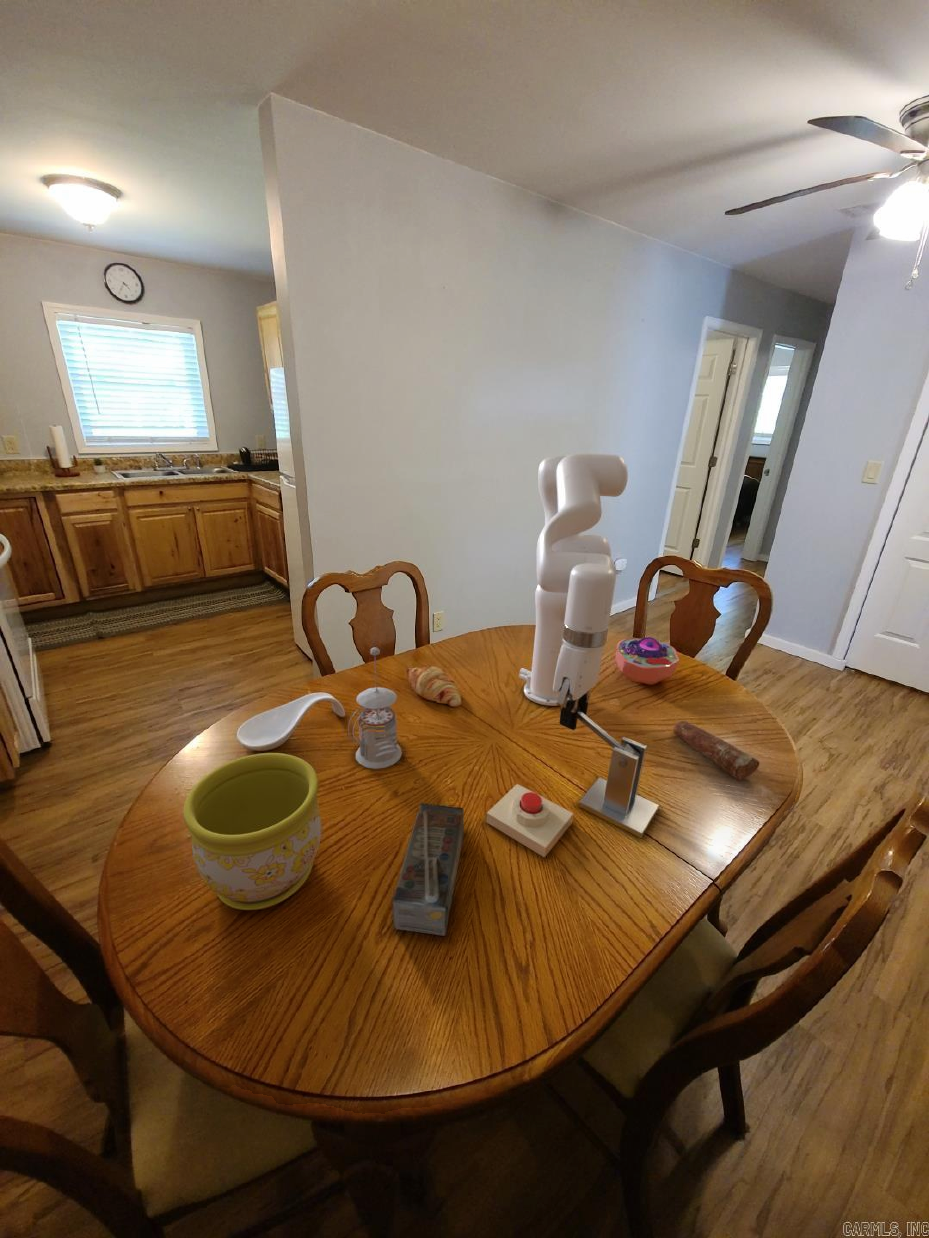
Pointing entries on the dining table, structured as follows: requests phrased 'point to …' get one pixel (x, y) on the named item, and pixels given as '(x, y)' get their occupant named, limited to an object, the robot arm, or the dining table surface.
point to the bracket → (622, 792)
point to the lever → (603, 732)
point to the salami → (717, 750)
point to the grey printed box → (429, 870)
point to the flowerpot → (255, 828)
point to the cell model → (646, 659)
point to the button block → (530, 821)
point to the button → (531, 803)
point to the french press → (377, 713)
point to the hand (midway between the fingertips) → (572, 721)
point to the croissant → (434, 685)
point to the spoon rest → (280, 722)
